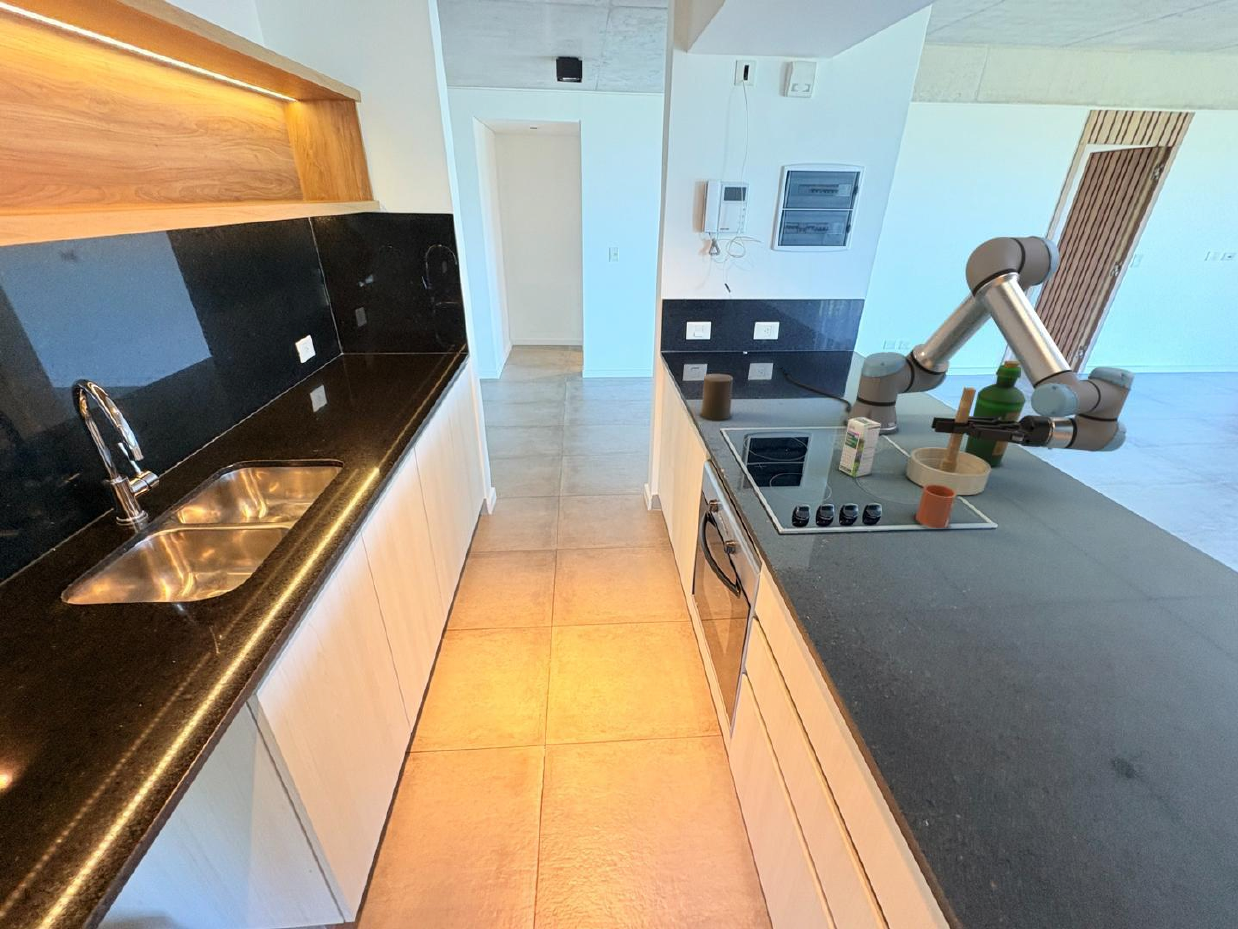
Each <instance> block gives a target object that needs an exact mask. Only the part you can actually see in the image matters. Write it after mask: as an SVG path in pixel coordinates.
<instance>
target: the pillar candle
mask: <svg viewBox="0 0 1238 929" xmlns="http://www.w3.org/2000/svg"><path fill="white" fill-rule="evenodd" d="M733 383H734V377H733V376H732V375H729V374H723V373H709V374H706V375H704V376H703V387H702V388H703V389H702V403H701V413H700V415H701V416H702V418H704V419H705V420H710V421H718V422H719V421H720V422H721V421H725V420H728V419H730V417H731V408H732V406H731V405H732V395H733V386H734V384H733Z"/></svg>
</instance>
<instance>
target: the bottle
mask: <svg viewBox="0 0 1238 929" xmlns="http://www.w3.org/2000/svg"><path fill="white" fill-rule="evenodd" d="M995 376H997V377H996V382H995V383H992V384H990V385H987V386H984V387H983V388H982V389H981V390H979V391H978V392H977V394H976V395H977V396H976V400H975V405H974V409H973V415H972V416H985V417H993V416H1001V417H1002V420H1007V419H1010V420H1015V421H1016V422H1018V421H1019V418H1020V416H1021V413H1022V411H1023V408H1024V406H1025V404H1026V401H1027V400H1026V398H1025V395H1024V393H1023V392H1022V391H1021V389H1019V388H1018V387H1017V386H1016V384H1017V382H1018V379H1020V378H1022V368H1021V366H1020V364H1019V362H1018V361H1017V360H1004V363H1003V364H1000V365H999V366H998V368H997V370H996V372H995ZM1009 443H1010V442H1002V441H993V440H984V439H974V438H972V436H968V435H967V440H966V445H965V449H964V452H966V453H969V454H972V455H974V456H977V457H979V458H981V459H983V460H984V461H986V462H987V463H988V464H989V465H990V467H996V466H998V465H1000V464H1001V463H1002V460H1003V457H1004V455H1005V452H1006V450H1007V448H1008V445H1009Z"/></svg>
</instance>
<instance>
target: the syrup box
mask: <svg viewBox="0 0 1238 929" xmlns="http://www.w3.org/2000/svg"><path fill="white" fill-rule="evenodd" d="M880 427H881V424H880V423H877V422H874V421H872V420H869V419H867V418H865V417H859V418H853V419H850V420H849V422H848V426H847V427H846V432H845V437H844V443H843V446H842V447H843V448H842V452H841V456H840V457H841V458H840V462H839V465H838V466H839V467H838V470H839V471H842V472H844V473H845V474H847V475H849V476H851V477H852V478H859V477H863V476H867V475H870V474H871V470H872V465H873V460H874V457H875V453H876V447H877V443H878V440H879V435H880V434H879V431H880Z"/></svg>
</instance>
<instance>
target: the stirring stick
mask: <svg viewBox="0 0 1238 929" xmlns="http://www.w3.org/2000/svg"><path fill="white" fill-rule="evenodd" d="M976 393H977V389H975V388H974V387H963V390H962V394H961V397H960V400H959V404H958V408H957V411H956V414H955V415H956V416H955V418H954V419H955V422H962V423H967V421H968V417H969V416H970V413H971V409H972V406H973V402H974V399H975V396H976ZM964 435H965V434H955V433H950V437H949V441H948V444H947V447H946V448H947V451H946V455H945V458H944V460H945V461H944V460H942V461H941V465H940V469H939V470H940V471H944V472H949V473H955V469H956V466H957V462H956V459H957V455H958V452H959V451H960V448H961V444H962V441H963V437H964Z"/></svg>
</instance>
